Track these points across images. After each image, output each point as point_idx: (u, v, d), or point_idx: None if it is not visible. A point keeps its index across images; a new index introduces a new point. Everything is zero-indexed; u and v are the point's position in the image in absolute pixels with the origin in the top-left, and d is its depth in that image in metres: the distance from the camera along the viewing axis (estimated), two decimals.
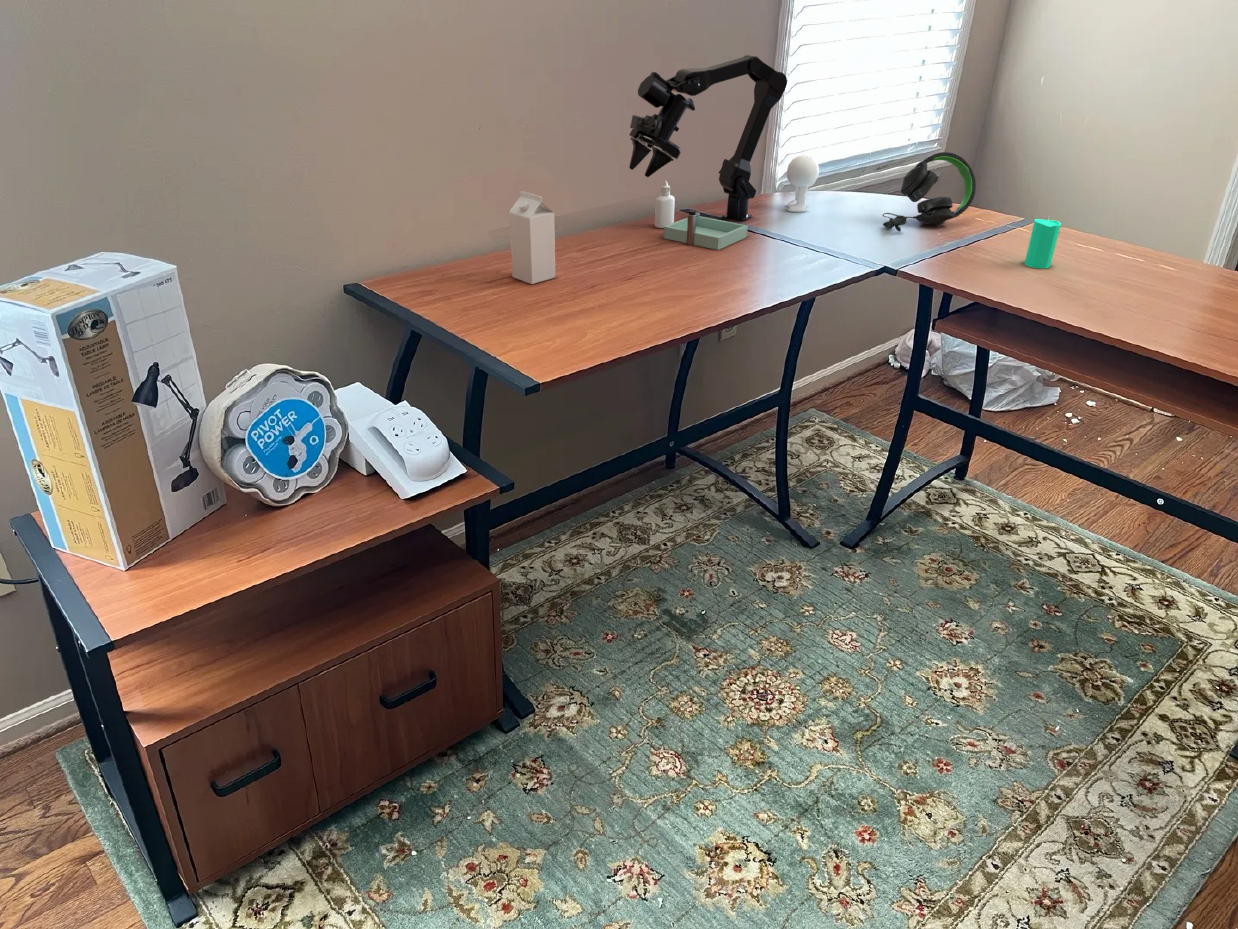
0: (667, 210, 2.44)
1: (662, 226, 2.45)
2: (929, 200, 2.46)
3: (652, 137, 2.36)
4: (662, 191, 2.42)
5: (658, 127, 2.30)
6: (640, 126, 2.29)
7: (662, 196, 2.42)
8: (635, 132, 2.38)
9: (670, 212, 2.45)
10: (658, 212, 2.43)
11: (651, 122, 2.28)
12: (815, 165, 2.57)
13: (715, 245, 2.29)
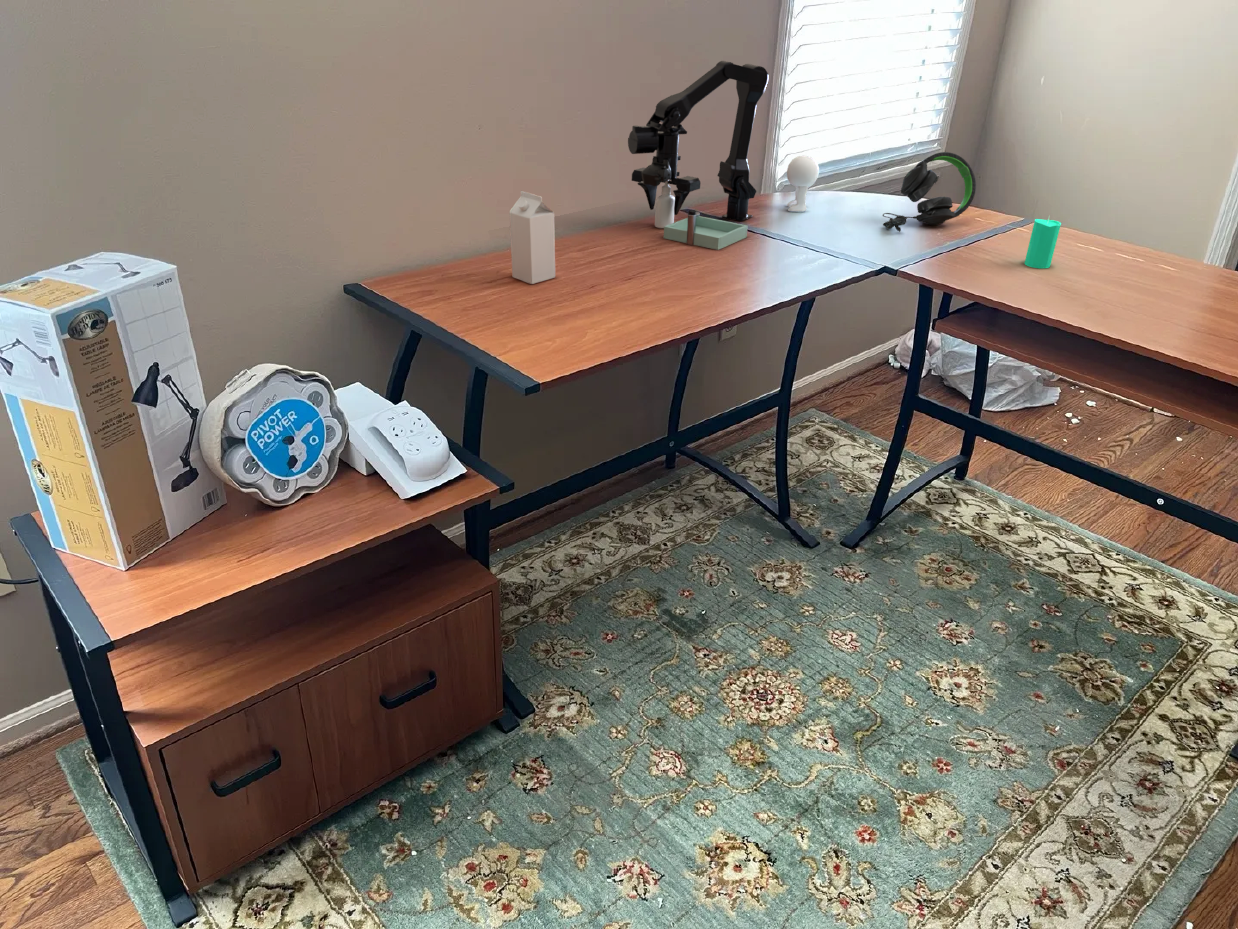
0: (668, 210, 2.44)
1: (662, 226, 2.45)
2: (929, 200, 2.46)
3: None
4: (663, 191, 2.42)
5: (669, 170, 2.36)
6: (658, 181, 2.35)
7: (663, 196, 2.42)
8: (639, 177, 2.42)
9: (670, 212, 2.44)
10: (659, 212, 2.43)
11: (667, 173, 2.33)
12: (815, 165, 2.57)
13: (715, 245, 2.29)
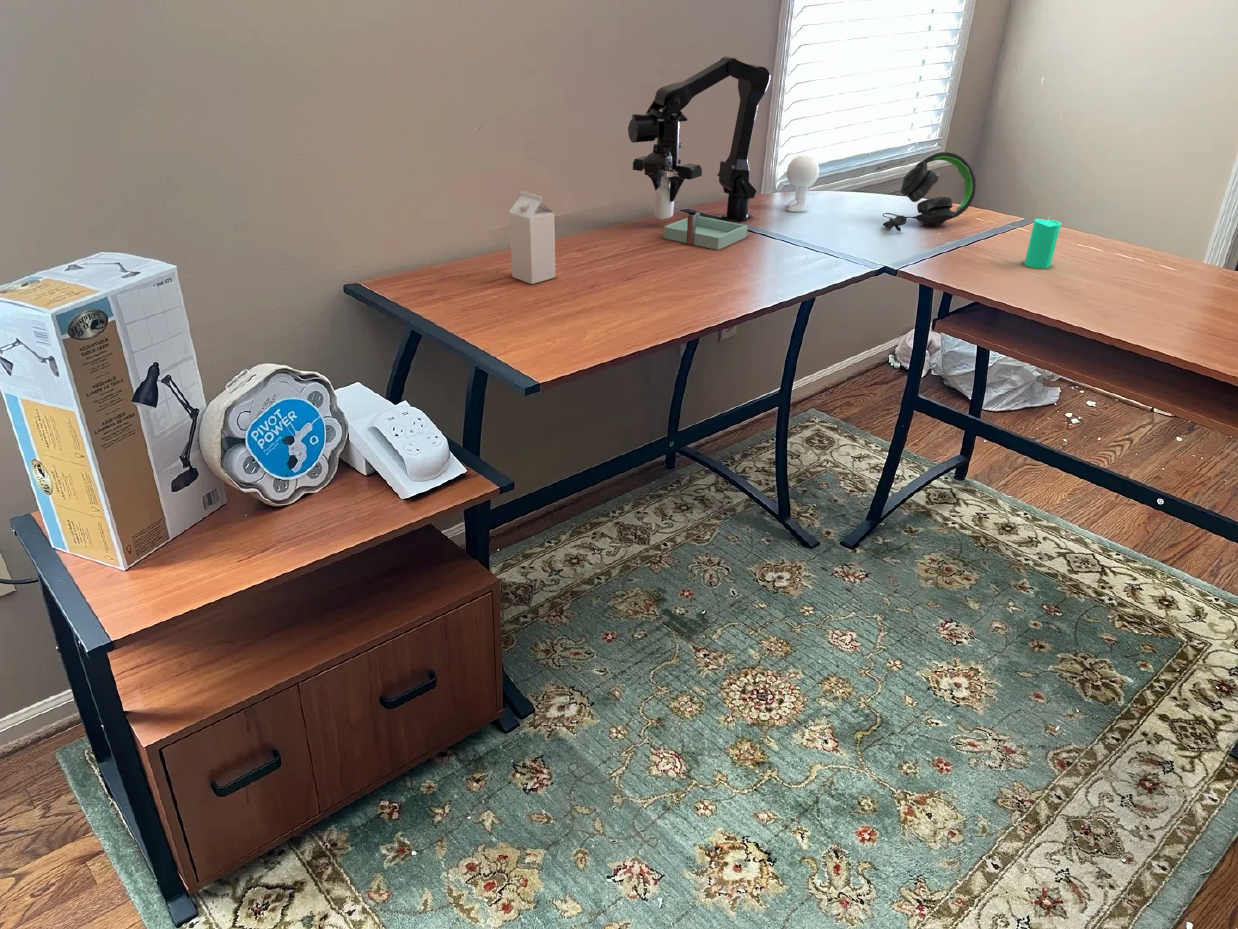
0: (667, 202, 2.42)
1: (662, 217, 2.44)
2: (929, 200, 2.46)
3: None
4: (662, 183, 2.40)
5: (670, 158, 2.35)
6: (659, 169, 2.33)
7: (662, 188, 2.41)
8: (640, 166, 2.41)
9: (670, 203, 2.43)
10: (658, 204, 2.42)
11: (668, 161, 2.32)
12: (815, 165, 2.57)
13: (715, 245, 2.29)
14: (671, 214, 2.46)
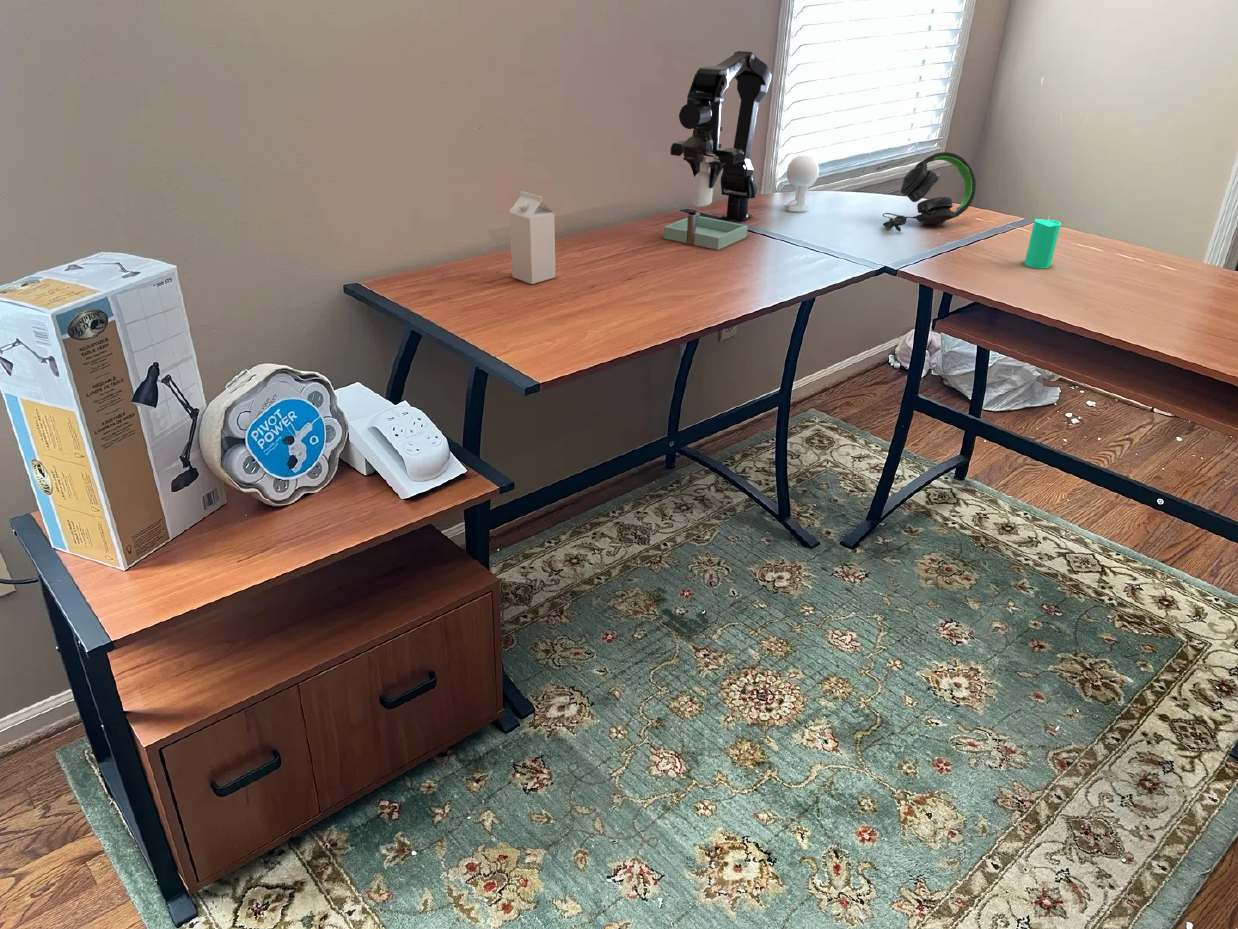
0: (706, 188, 2.32)
1: (701, 205, 2.34)
2: (929, 200, 2.46)
3: None
4: (701, 168, 2.30)
5: (711, 142, 2.25)
6: (699, 154, 2.23)
7: (701, 173, 2.30)
8: (679, 151, 2.31)
9: (709, 189, 2.33)
10: (697, 190, 2.32)
11: (709, 145, 2.22)
12: (815, 165, 2.57)
13: (715, 245, 2.29)
14: (710, 201, 2.36)
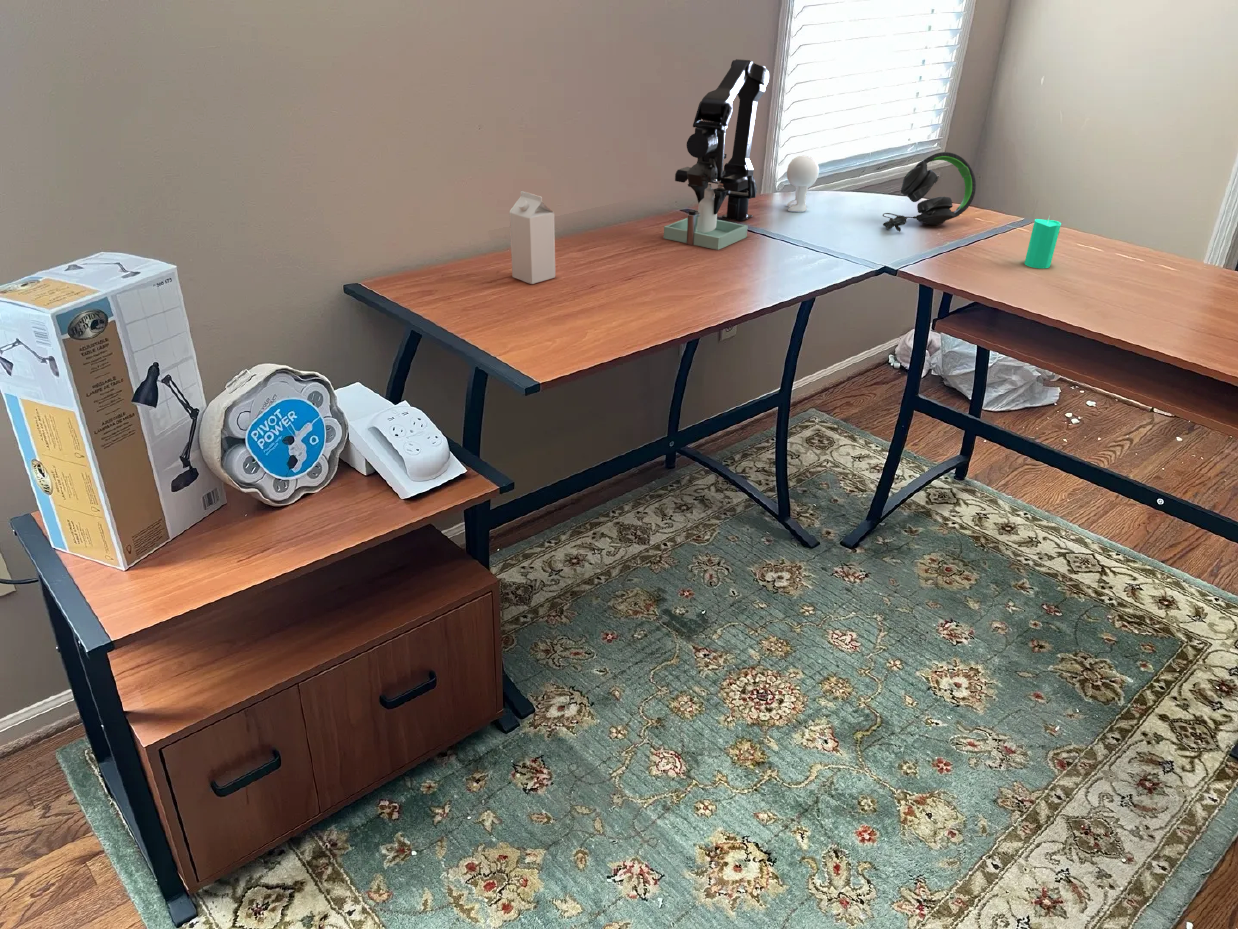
0: (711, 214, 2.34)
1: (705, 230, 2.36)
2: (929, 200, 2.46)
3: None
4: (706, 194, 2.32)
5: (715, 169, 2.27)
6: (704, 181, 2.25)
7: (706, 200, 2.33)
8: (683, 178, 2.33)
9: (713, 215, 2.35)
10: (702, 216, 2.34)
11: (713, 173, 2.24)
12: (815, 165, 2.57)
13: (715, 245, 2.29)
14: (714, 227, 2.38)
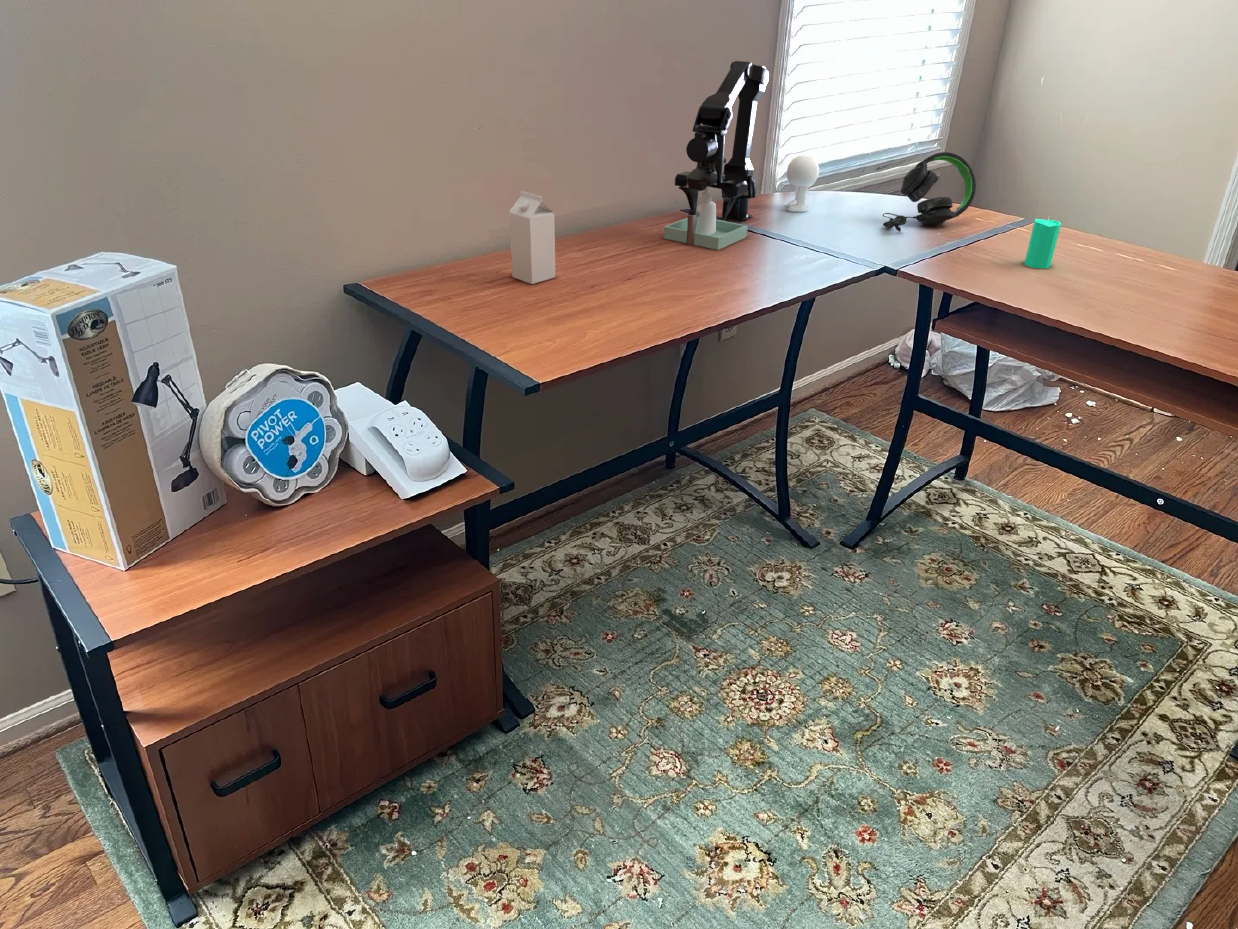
0: (709, 217, 2.35)
1: None
2: (929, 200, 2.46)
3: None
4: (703, 198, 2.34)
5: (715, 174, 2.27)
6: (704, 186, 2.26)
7: (703, 203, 2.34)
8: (683, 182, 2.33)
9: (712, 218, 2.36)
10: (700, 219, 2.35)
11: (713, 177, 2.24)
12: (815, 165, 2.57)
13: (715, 245, 2.29)
14: (714, 230, 2.38)
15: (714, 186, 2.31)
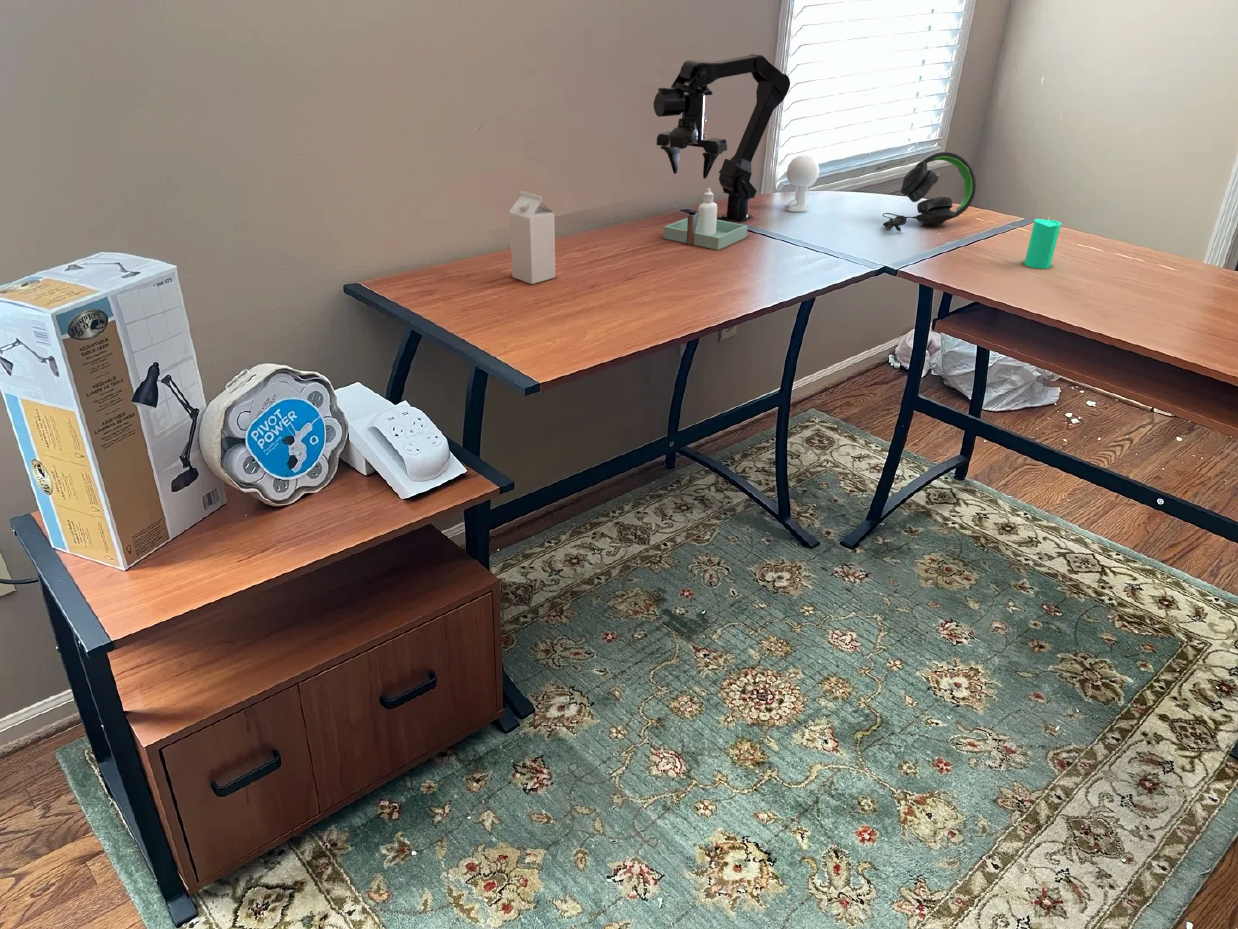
0: (710, 218, 2.35)
1: None
2: (929, 200, 2.46)
3: None
4: (705, 198, 2.33)
5: (696, 132, 2.34)
6: (685, 143, 2.32)
7: (705, 203, 2.34)
8: (665, 141, 2.40)
9: (713, 219, 2.36)
10: (701, 220, 2.35)
11: (694, 135, 2.31)
12: (815, 165, 2.57)
13: (715, 245, 2.29)
14: (714, 231, 2.38)
15: (695, 145, 2.38)
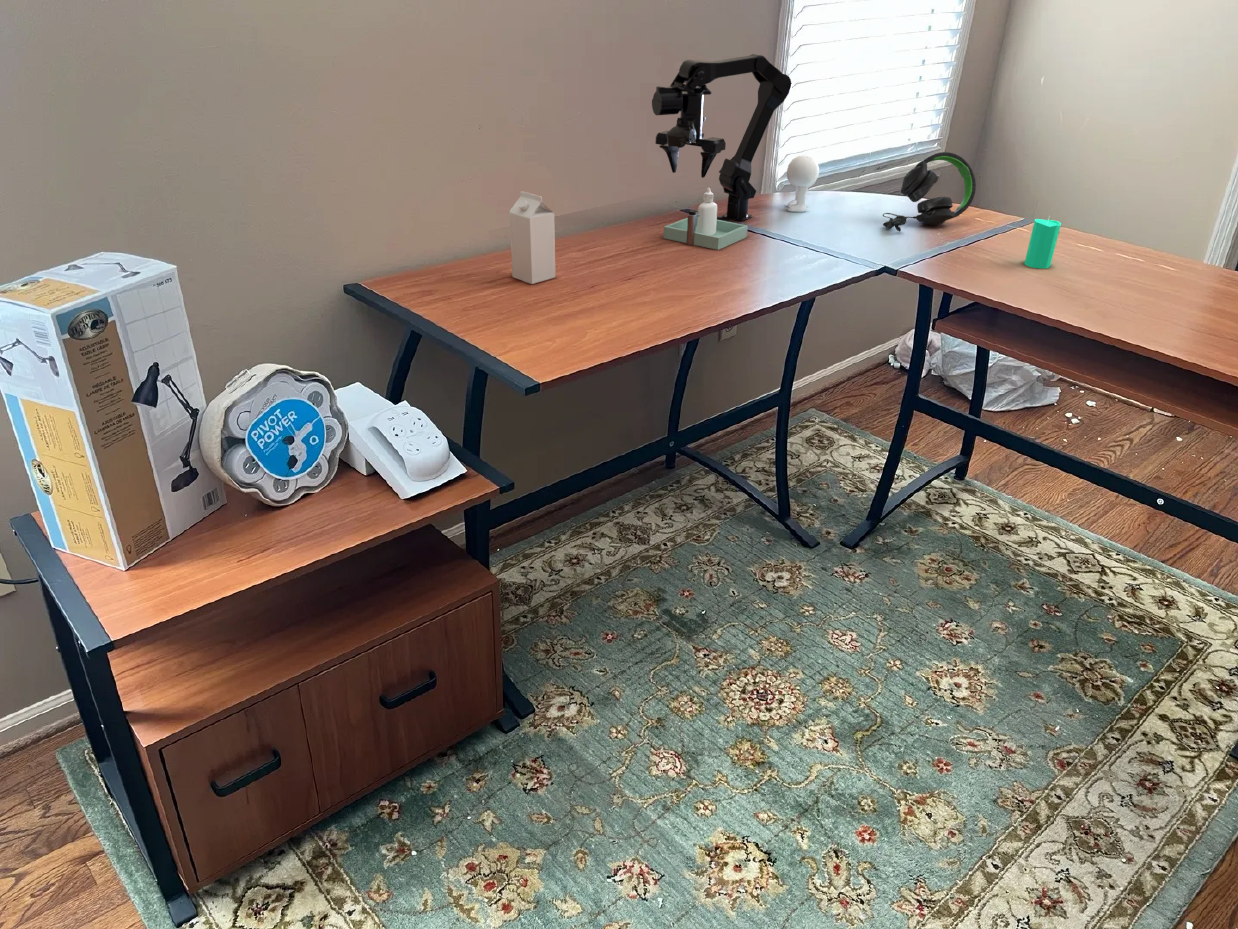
0: (710, 218, 2.35)
1: None
2: (929, 200, 2.46)
3: None
4: (705, 198, 2.33)
5: (694, 131, 2.34)
6: (683, 142, 2.33)
7: (705, 203, 2.34)
8: (663, 140, 2.41)
9: (713, 219, 2.36)
10: (701, 220, 2.35)
11: (692, 134, 2.32)
12: (815, 165, 2.57)
13: (715, 245, 2.29)
14: (714, 231, 2.38)
15: (693, 144, 2.39)
